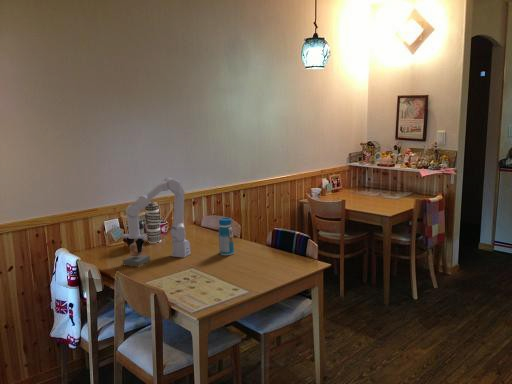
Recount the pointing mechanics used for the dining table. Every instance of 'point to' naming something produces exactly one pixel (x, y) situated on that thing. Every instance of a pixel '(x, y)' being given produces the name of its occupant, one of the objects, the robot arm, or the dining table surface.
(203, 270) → the dining table surface
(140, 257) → the charcoal plinth
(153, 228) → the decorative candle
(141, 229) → the coffee cup
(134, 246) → the terracotta block
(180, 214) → the robot arm
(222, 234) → the beverage bottle
